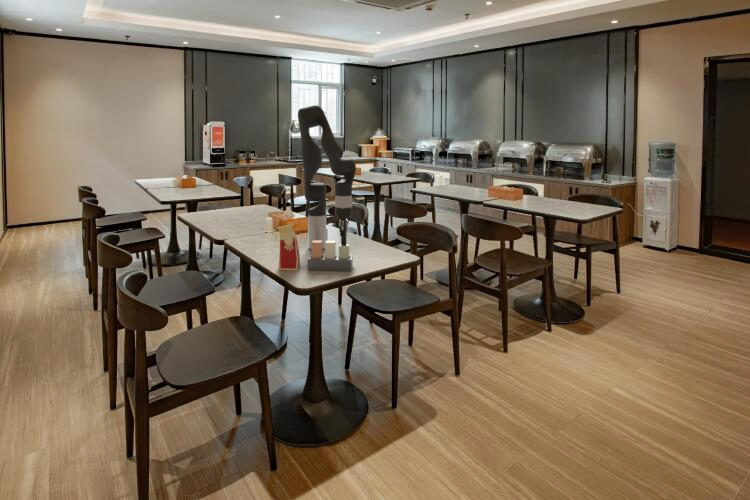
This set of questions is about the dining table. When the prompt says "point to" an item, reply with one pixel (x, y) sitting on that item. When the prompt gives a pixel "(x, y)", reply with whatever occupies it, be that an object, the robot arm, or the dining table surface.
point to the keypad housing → (330, 264)
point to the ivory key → (330, 249)
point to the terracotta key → (316, 249)
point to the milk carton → (288, 249)
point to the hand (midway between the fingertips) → (343, 244)
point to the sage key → (344, 251)
